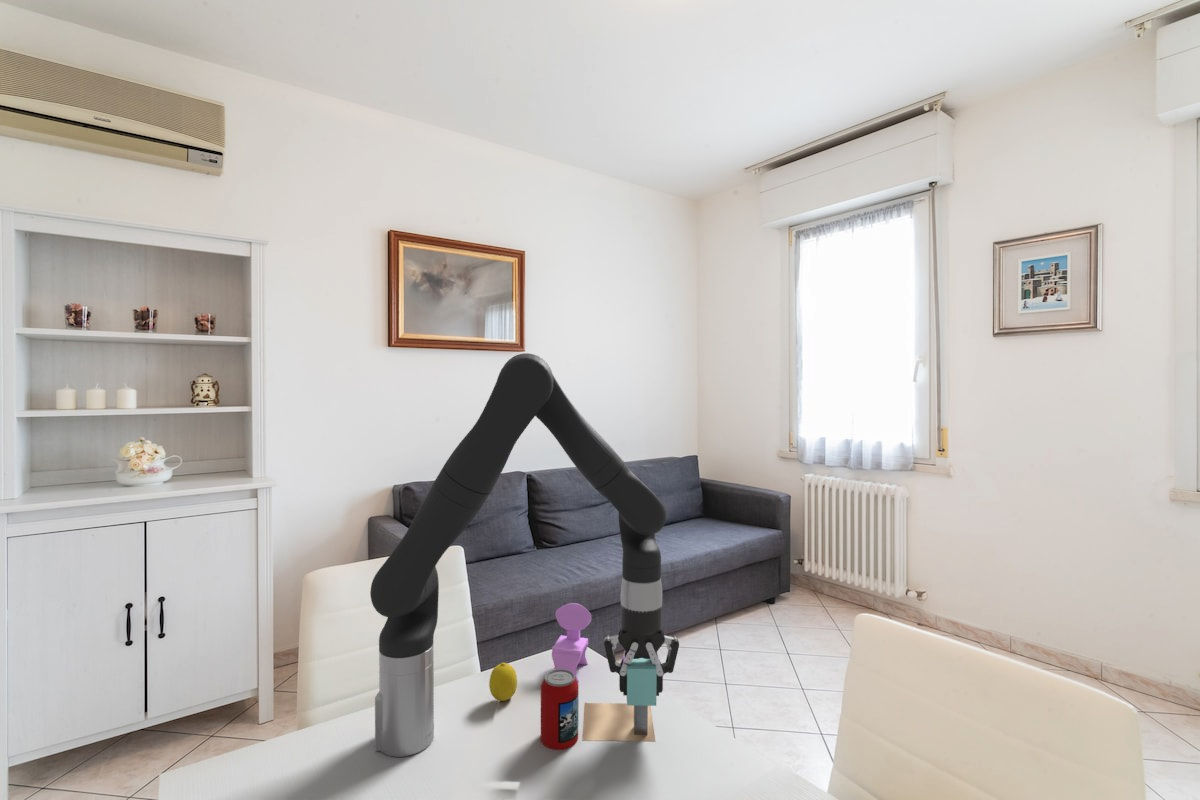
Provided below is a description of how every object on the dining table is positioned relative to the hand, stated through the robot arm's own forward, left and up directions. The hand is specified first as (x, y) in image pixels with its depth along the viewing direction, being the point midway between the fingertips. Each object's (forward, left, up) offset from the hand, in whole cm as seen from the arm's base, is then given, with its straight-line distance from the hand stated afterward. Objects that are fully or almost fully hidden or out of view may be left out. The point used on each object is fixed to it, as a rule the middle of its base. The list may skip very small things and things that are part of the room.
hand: (641, 693), depth 105 cm
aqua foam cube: (0, 0, -1) cm, 1 cm away
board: (-4, +3, -8) cm, 9 cm away
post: (0, 0, -7) cm, 7 cm away
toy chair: (-14, +22, -8) cm, 27 cm away
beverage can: (-15, -2, -8) cm, 17 cm away
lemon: (-27, +11, -8) cm, 30 cm away
